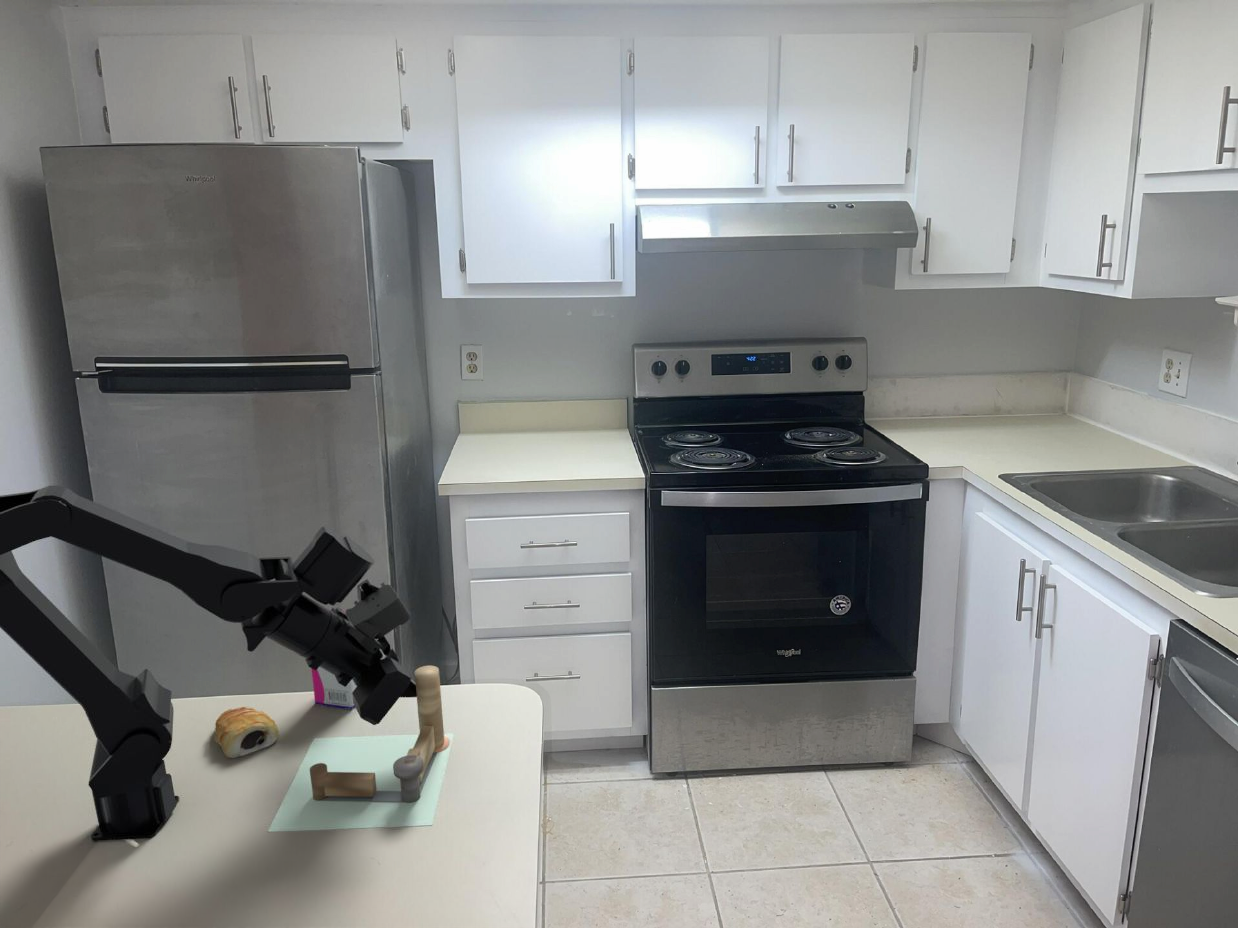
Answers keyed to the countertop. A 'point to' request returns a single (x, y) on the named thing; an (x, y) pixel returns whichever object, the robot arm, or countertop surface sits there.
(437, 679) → the rail
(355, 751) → the card
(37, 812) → the countertop surface
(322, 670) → the supplement box
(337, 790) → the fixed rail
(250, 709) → the pastry
